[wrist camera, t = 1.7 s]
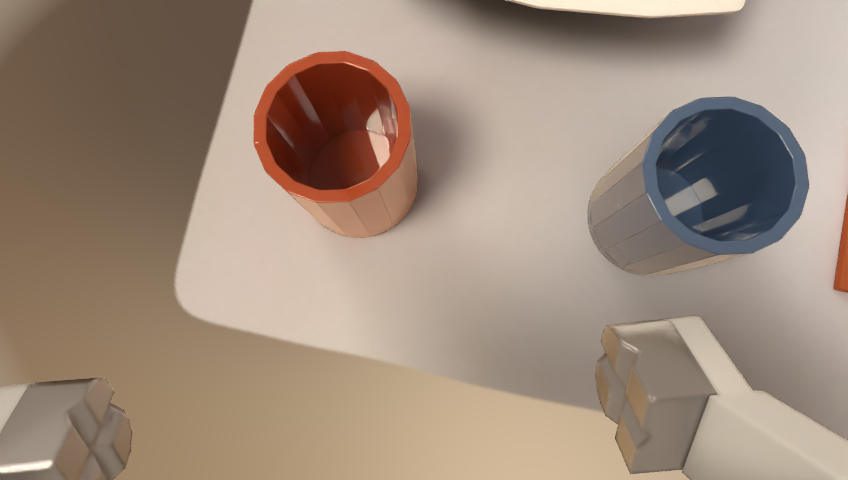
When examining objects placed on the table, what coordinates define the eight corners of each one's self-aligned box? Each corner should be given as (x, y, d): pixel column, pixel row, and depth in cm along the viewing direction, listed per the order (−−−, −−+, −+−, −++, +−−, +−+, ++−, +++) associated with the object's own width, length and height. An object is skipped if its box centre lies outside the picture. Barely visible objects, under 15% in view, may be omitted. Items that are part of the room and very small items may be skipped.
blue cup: (727, 245, 36) (839, 212, 26) (621, 295, 35) (693, 281, 25) (670, 142, 37) (756, 71, 27) (567, 189, 36) (615, 135, 26)
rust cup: (436, 208, 36) (436, 162, 26) (329, 256, 36) (289, 228, 26) (389, 107, 37) (371, 27, 28) (285, 154, 37) (230, 89, 27)
